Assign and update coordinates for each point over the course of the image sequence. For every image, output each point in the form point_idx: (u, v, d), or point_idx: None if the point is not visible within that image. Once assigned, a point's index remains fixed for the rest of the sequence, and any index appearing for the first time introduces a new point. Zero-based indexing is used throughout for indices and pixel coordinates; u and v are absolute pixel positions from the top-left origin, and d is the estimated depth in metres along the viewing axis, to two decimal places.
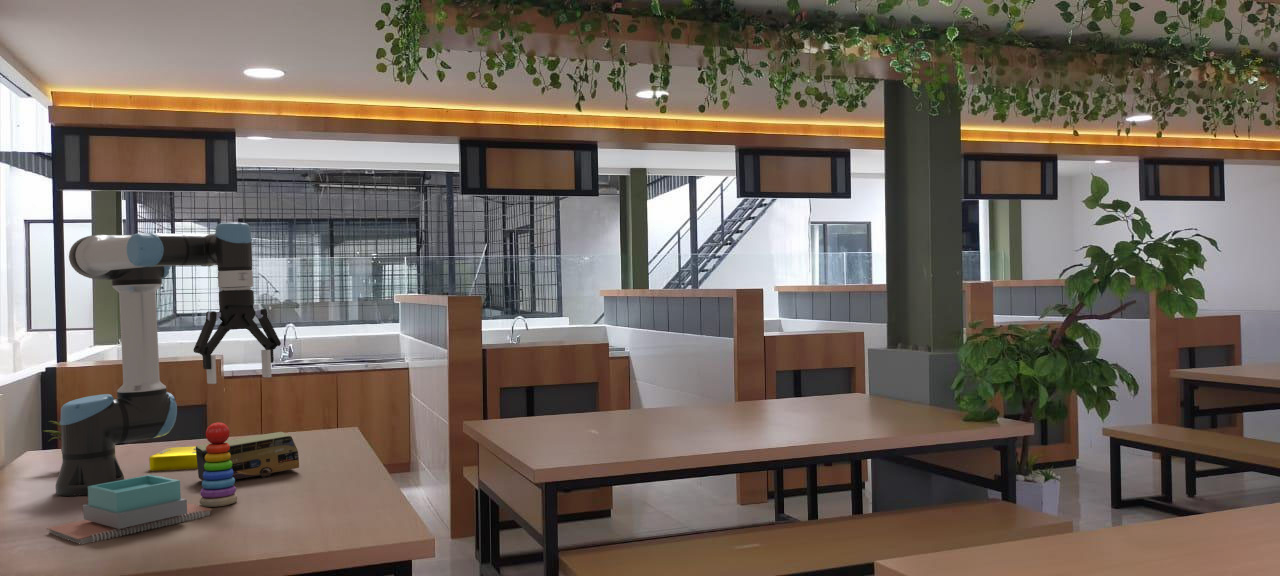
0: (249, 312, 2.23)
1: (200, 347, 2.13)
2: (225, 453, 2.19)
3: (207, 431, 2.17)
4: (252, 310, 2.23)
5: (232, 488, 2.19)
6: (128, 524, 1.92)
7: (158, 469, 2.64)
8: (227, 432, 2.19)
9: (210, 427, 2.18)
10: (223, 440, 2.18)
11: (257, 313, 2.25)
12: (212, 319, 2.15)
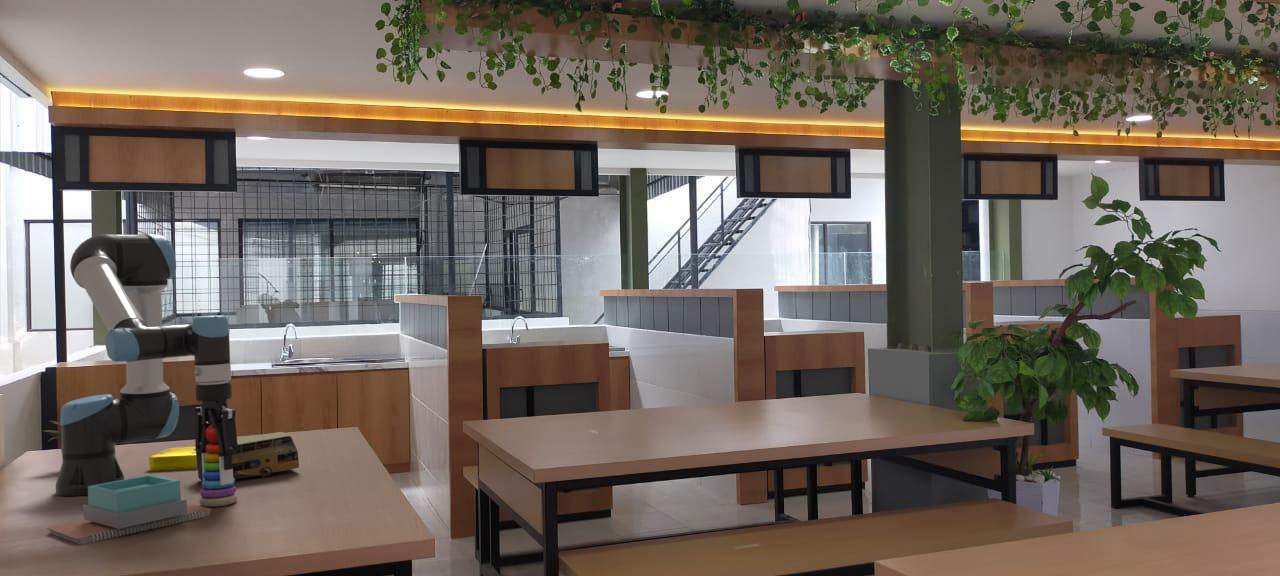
0: (215, 407, 2.16)
1: (195, 444, 2.22)
2: None
3: (207, 431, 2.17)
4: (217, 406, 2.16)
5: (232, 488, 2.19)
6: (128, 524, 1.92)
7: (158, 469, 2.64)
8: None
9: (210, 427, 2.18)
10: None
11: None
12: (196, 415, 2.22)
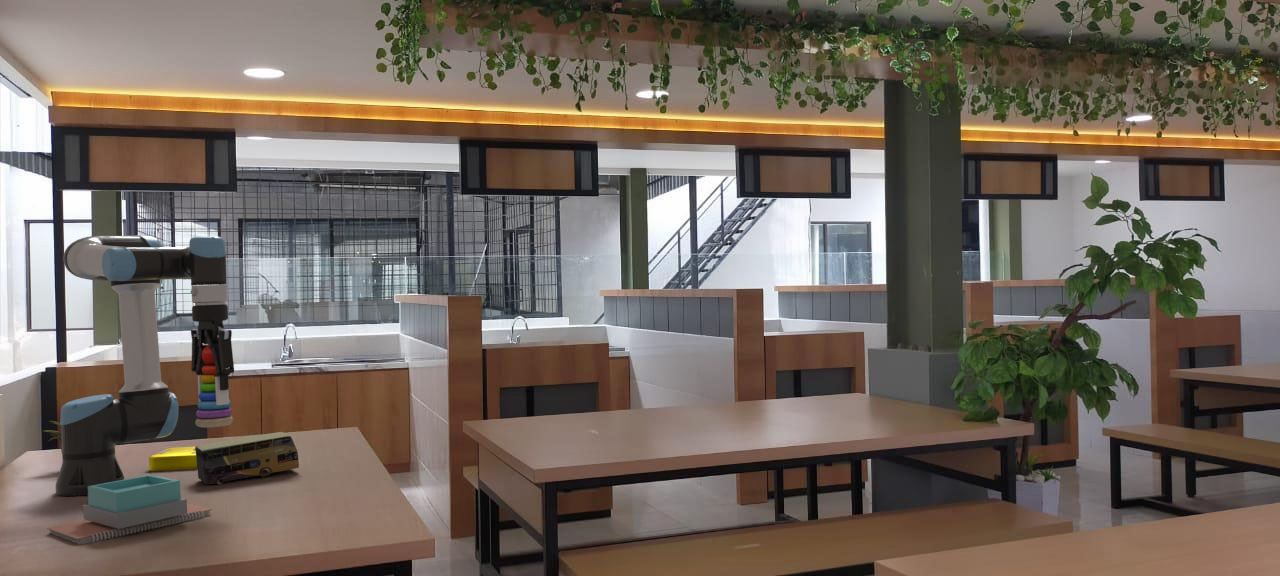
0: (212, 327, 2.16)
1: (192, 366, 2.22)
2: None
3: (203, 352, 2.17)
4: (214, 327, 2.16)
5: (228, 409, 2.19)
6: (128, 524, 1.92)
7: (158, 469, 2.64)
8: None
9: (206, 348, 2.18)
10: None
11: None
12: (192, 337, 2.21)
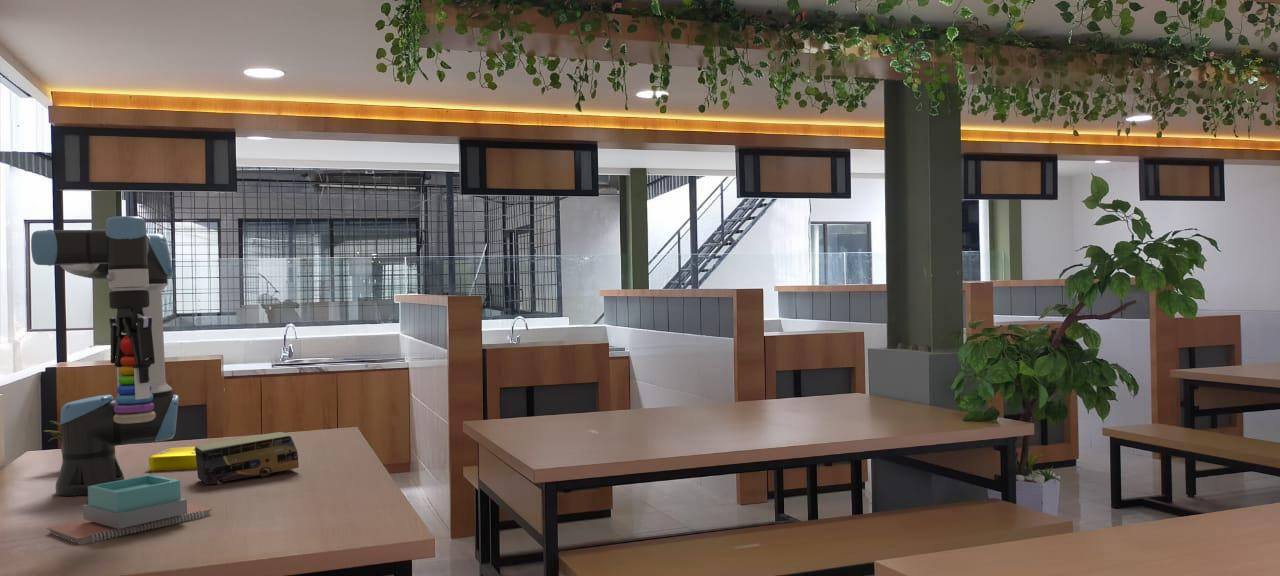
0: (130, 315, 1.99)
1: (111, 358, 2.05)
2: None
3: (122, 342, 2.00)
4: (132, 314, 1.99)
5: (149, 404, 2.02)
6: (128, 524, 1.92)
7: (157, 469, 2.64)
8: None
9: (125, 337, 2.00)
10: None
11: None
12: (111, 326, 2.04)
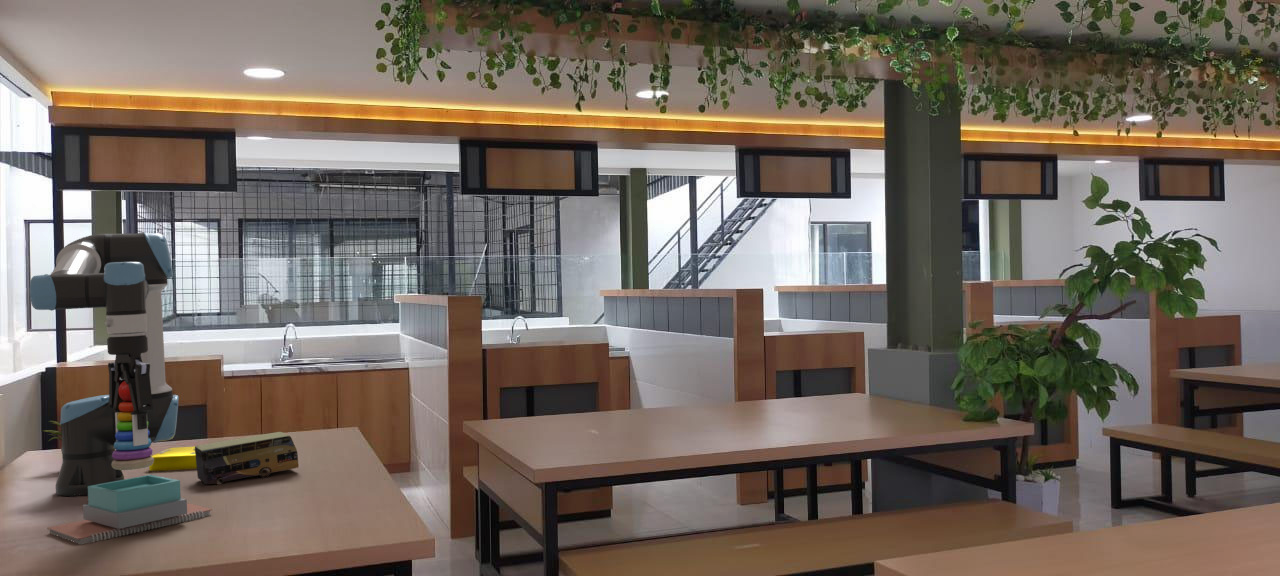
0: (128, 361, 1.99)
1: (109, 403, 2.04)
2: None
3: (120, 387, 2.00)
4: (130, 360, 1.98)
5: (147, 450, 2.01)
6: (128, 524, 1.92)
7: (157, 469, 2.63)
8: None
9: (123, 383, 2.00)
10: None
11: None
12: (109, 371, 2.04)
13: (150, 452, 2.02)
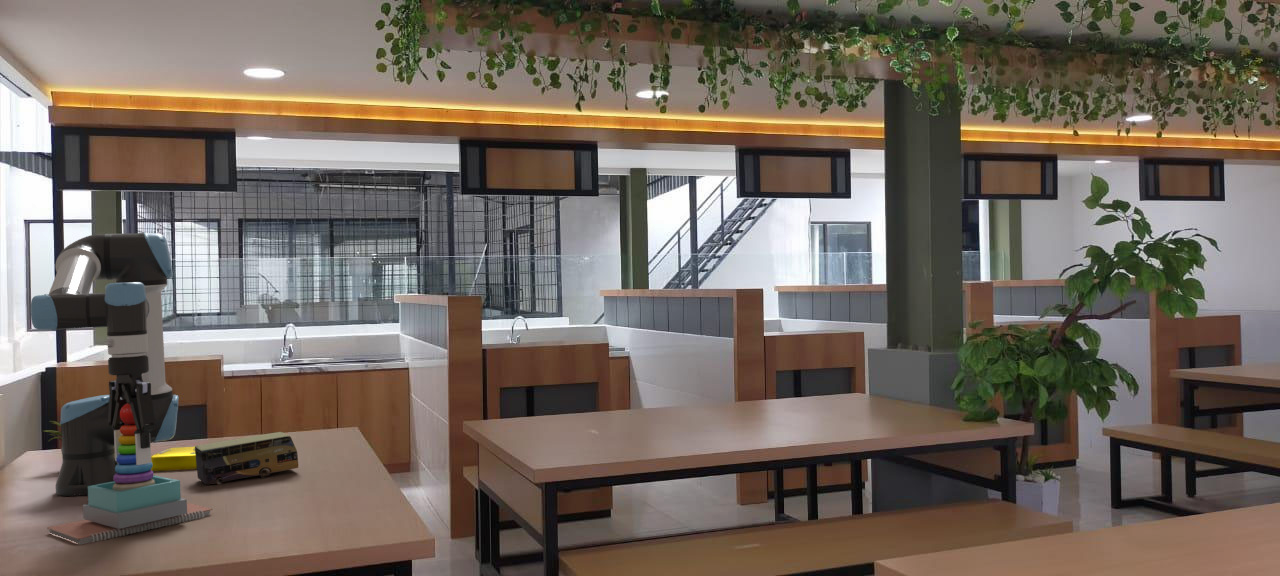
0: (129, 381, 1.99)
1: (108, 420, 2.05)
2: None
3: (121, 411, 2.00)
4: (131, 380, 1.98)
5: (149, 473, 2.01)
6: (128, 524, 1.92)
7: (157, 469, 2.63)
8: None
9: (124, 406, 2.00)
10: None
11: None
12: (110, 390, 2.04)
13: (151, 475, 2.02)
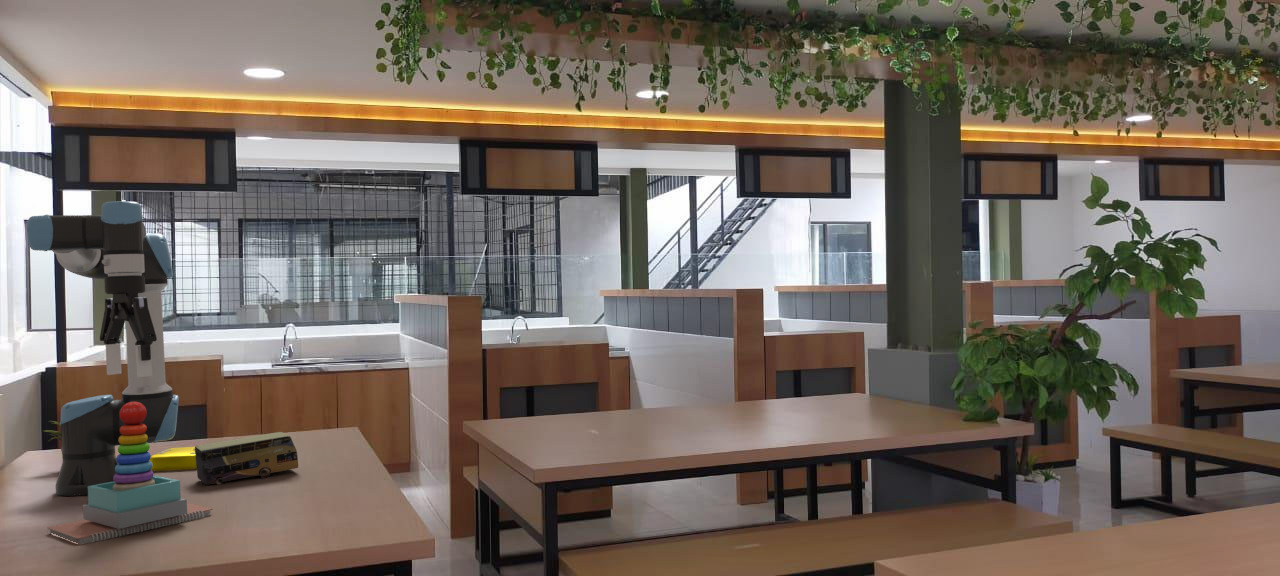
0: (125, 301, 1.99)
1: (100, 335, 2.06)
2: (141, 435, 2.01)
3: (121, 411, 2.00)
4: (127, 299, 1.98)
5: (148, 473, 2.01)
6: (128, 524, 1.92)
7: (157, 469, 2.63)
8: (143, 412, 2.01)
9: (124, 406, 2.00)
10: (139, 421, 2.01)
11: None
12: (105, 307, 2.04)
13: (151, 475, 2.02)
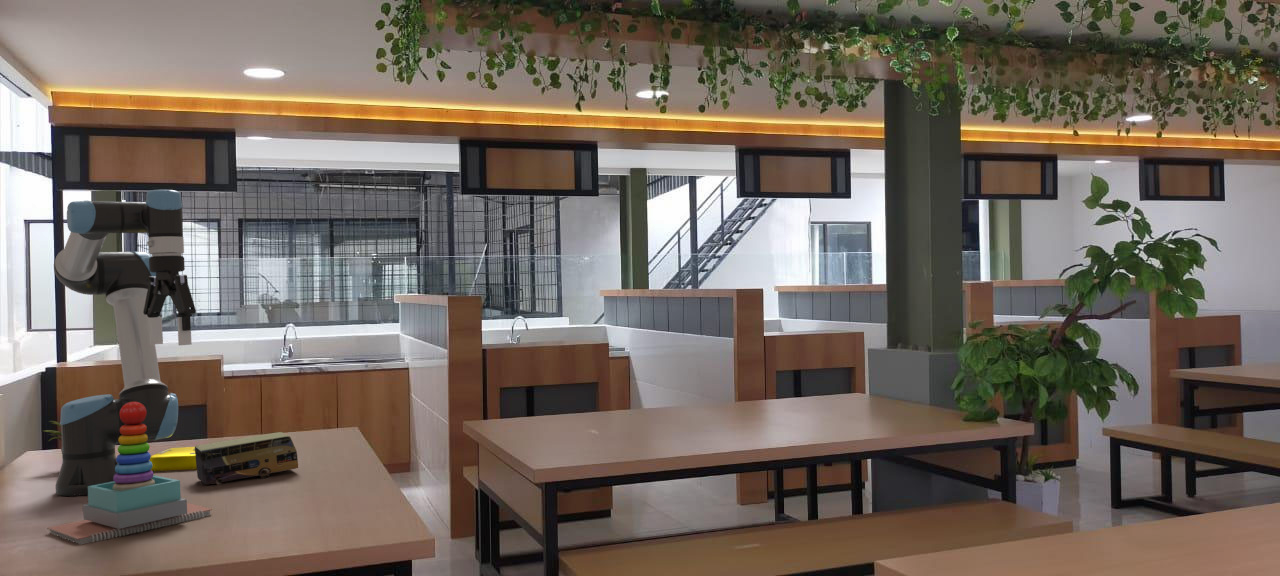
0: (168, 278, 2.24)
1: (144, 309, 2.31)
2: (141, 435, 2.01)
3: (121, 411, 2.00)
4: (169, 276, 2.23)
5: (148, 473, 2.01)
6: (128, 524, 1.92)
7: (156, 469, 2.63)
8: (143, 412, 2.01)
9: (124, 406, 2.00)
10: (138, 421, 2.01)
11: None
12: (149, 284, 2.29)
13: (151, 475, 2.02)
